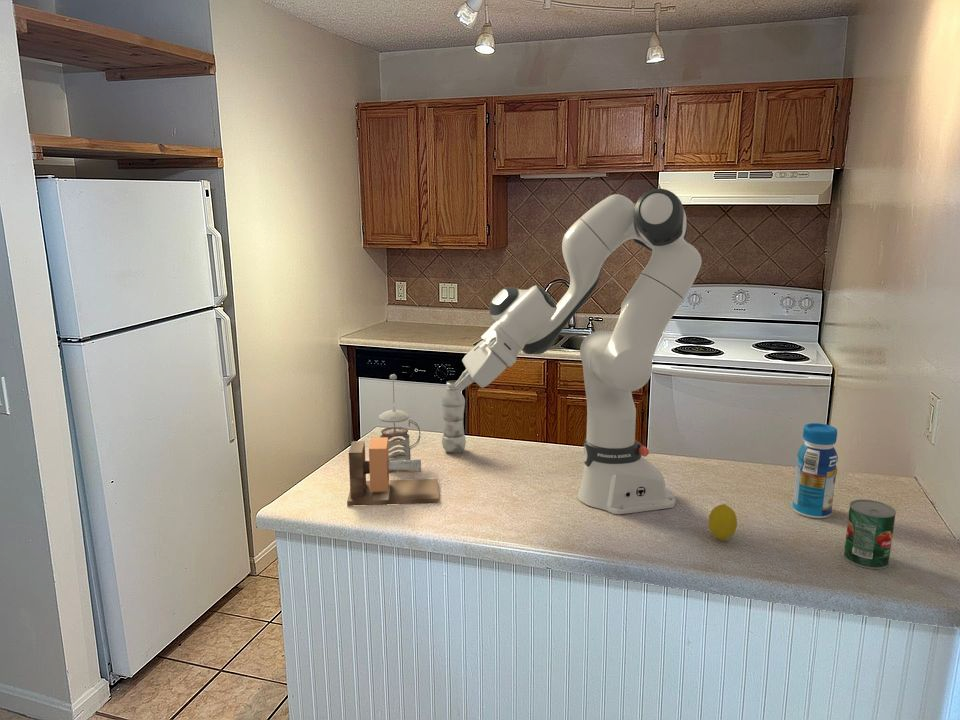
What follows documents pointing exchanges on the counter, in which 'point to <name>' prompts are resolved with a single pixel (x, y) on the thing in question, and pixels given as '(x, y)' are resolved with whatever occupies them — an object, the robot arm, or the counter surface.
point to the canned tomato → (869, 534)
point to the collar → (378, 464)
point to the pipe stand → (397, 489)
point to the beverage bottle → (816, 471)
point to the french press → (397, 431)
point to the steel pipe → (398, 466)
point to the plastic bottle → (453, 419)
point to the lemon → (722, 522)
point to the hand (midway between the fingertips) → (457, 388)
